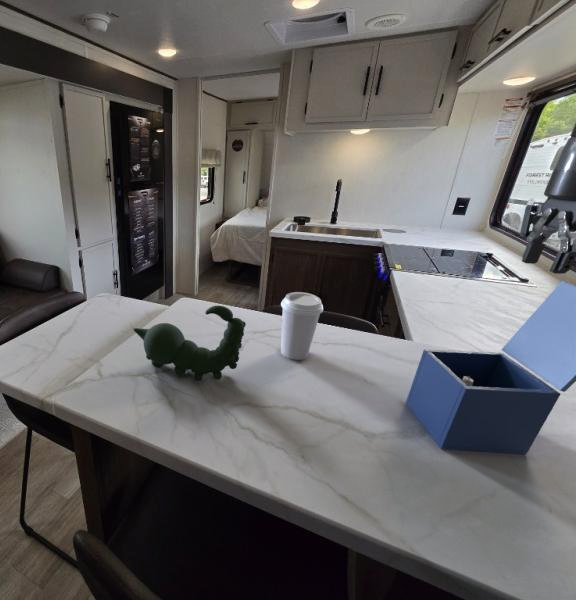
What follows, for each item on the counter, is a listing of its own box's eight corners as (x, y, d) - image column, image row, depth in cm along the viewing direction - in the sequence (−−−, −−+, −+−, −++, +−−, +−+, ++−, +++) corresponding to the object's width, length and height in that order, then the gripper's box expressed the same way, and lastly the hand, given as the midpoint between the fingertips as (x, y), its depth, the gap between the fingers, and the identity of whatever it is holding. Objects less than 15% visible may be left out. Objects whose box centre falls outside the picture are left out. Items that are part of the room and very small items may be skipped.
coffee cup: (298, 340, 92) (306, 288, 85) (322, 359, 83) (334, 303, 77) (267, 346, 89) (274, 293, 83) (289, 366, 81) (298, 309, 74)
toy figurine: (237, 374, 81) (140, 348, 87) (251, 302, 72) (143, 280, 79) (229, 399, 72) (123, 369, 79) (244, 322, 64) (125, 295, 71)
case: (440, 449, 58) (466, 388, 53) (405, 403, 69) (423, 349, 64) (526, 454, 57) (561, 393, 52) (477, 407, 68) (501, 352, 62)
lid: (643, 311, 46) (648, 312, 46) (561, 280, 56) (566, 282, 56) (560, 390, 52) (564, 392, 52) (500, 349, 62) (504, 351, 62)
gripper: (668, 170, 48) (607, 282, 55) (570, 165, 61) (530, 256, 68) (609, 170, 49) (556, 281, 56) (525, 165, 62) (490, 256, 69)
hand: (542, 267), depth 62 cm, fingers open, 5 cm apart
